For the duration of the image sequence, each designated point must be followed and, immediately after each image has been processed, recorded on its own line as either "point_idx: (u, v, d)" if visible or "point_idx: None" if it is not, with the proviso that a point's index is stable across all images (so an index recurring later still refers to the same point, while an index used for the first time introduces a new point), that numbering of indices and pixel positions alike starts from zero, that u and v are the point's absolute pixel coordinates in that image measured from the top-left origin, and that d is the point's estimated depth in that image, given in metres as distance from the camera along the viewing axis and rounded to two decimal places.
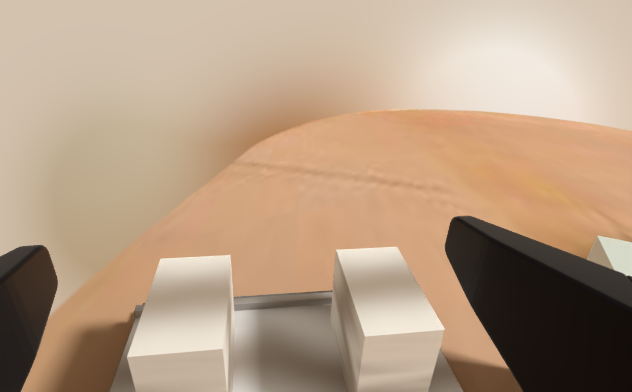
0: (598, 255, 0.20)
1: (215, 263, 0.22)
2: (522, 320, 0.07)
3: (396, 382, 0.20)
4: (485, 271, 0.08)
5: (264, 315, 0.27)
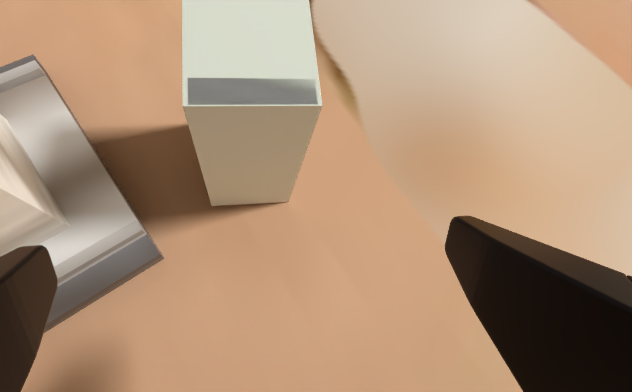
0: None
1: None
2: (522, 320, 0.07)
3: None
4: (485, 271, 0.08)
5: None
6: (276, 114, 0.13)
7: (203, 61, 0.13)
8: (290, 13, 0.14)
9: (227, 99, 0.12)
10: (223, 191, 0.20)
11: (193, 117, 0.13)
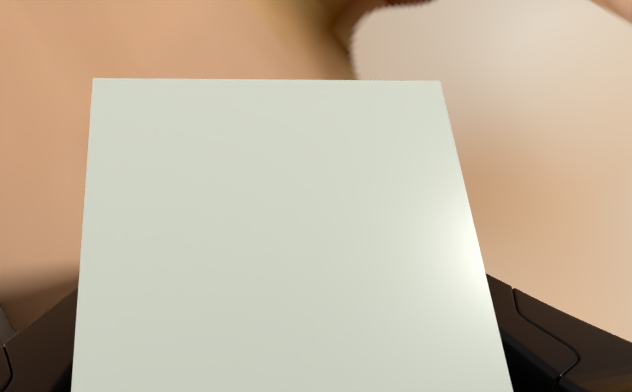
0: None
1: None
2: None
3: None
4: None
5: None
6: None
7: None
8: (412, 196, 0.05)
9: None
10: None
11: None
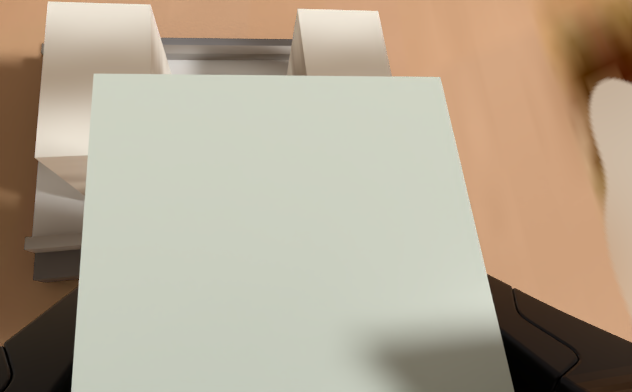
0: None
1: (130, 18, 0.16)
2: None
3: None
4: None
5: (208, 68, 0.23)
6: None
7: None
8: (412, 190, 0.05)
9: None
10: None
11: None
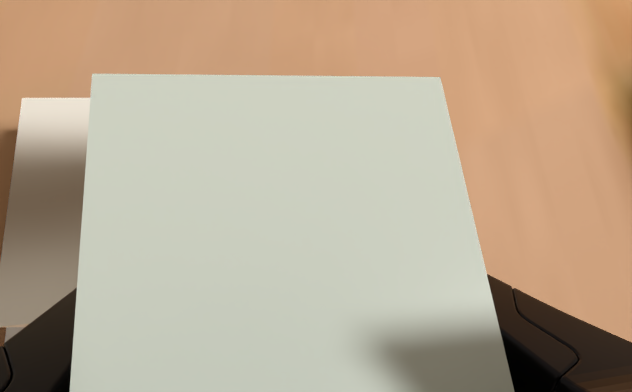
0: None
1: None
2: None
3: None
4: None
5: None
6: None
7: None
8: (412, 191, 0.05)
9: None
10: None
11: None
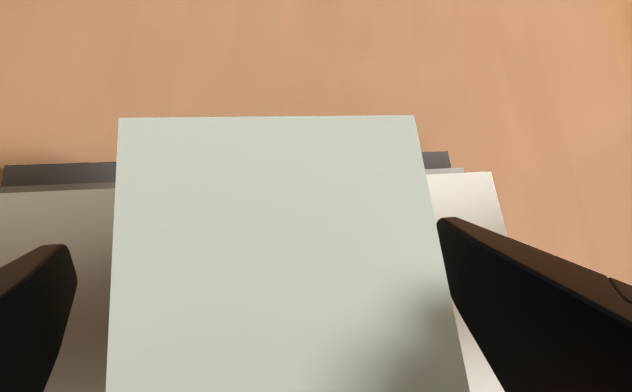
0: None
1: (101, 216, 0.10)
2: (505, 322, 0.07)
3: None
4: (469, 272, 0.08)
5: None
6: None
7: None
8: (386, 215, 0.06)
9: None
10: None
11: None
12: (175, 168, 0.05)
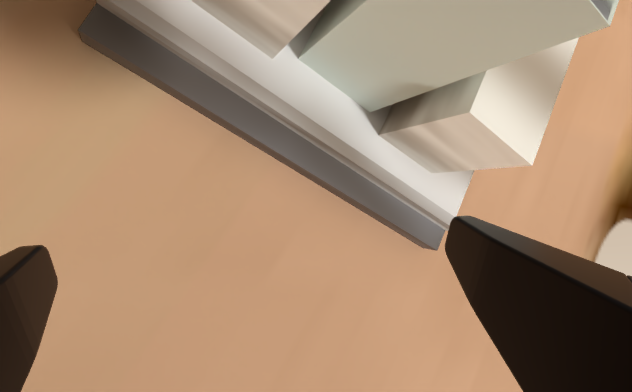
0: None
1: None
2: (522, 320, 0.07)
3: (439, 150, 0.18)
4: (485, 271, 0.08)
5: None
6: None
7: None
8: None
9: None
10: (337, 50, 0.16)
11: None
12: None
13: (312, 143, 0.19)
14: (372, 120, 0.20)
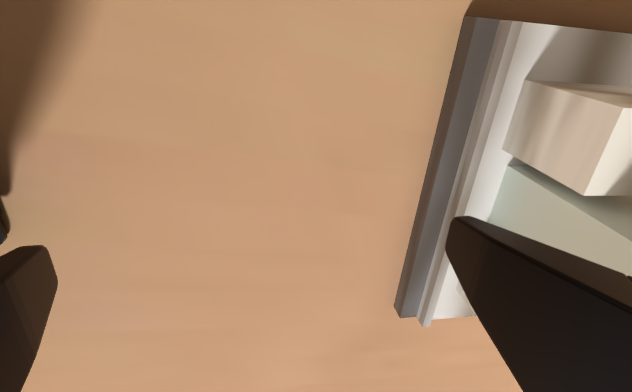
0: None
1: None
2: (522, 320, 0.07)
3: None
4: (485, 271, 0.08)
5: None
6: None
7: None
8: None
9: None
10: (532, 196, 0.21)
11: None
12: None
13: (449, 201, 0.24)
14: None
